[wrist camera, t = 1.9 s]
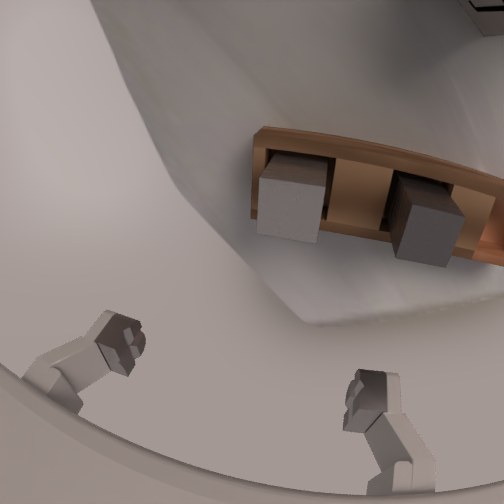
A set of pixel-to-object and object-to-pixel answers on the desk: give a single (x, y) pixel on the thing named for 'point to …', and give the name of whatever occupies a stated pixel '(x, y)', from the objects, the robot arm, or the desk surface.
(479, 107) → the desk surface
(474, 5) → the icon cube
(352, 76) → the desk surface
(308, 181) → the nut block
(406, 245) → the block
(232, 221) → the desk surface
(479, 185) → the wooden compartment tray
